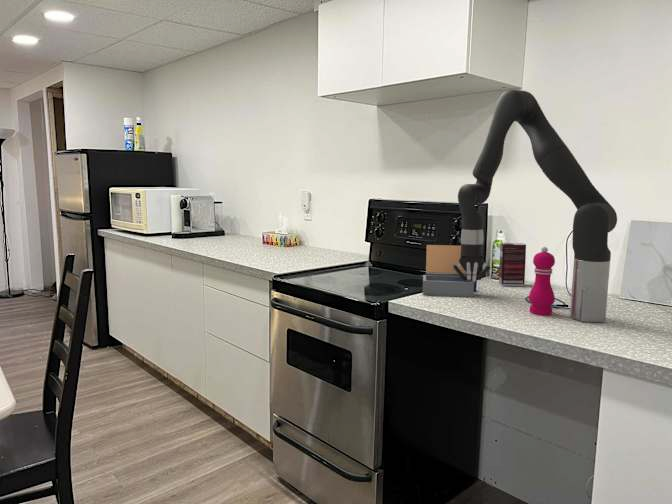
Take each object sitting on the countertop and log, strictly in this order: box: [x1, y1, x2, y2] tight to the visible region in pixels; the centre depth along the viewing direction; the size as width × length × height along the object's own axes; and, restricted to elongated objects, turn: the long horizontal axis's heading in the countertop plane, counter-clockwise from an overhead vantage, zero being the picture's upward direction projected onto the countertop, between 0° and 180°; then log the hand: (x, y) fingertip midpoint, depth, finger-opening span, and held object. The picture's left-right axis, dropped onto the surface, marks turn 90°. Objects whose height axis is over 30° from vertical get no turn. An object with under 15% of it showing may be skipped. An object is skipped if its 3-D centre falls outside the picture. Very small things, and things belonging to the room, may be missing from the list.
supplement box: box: [498, 242, 527, 287], centre depth 190 cm, size 9×5×16 cm, turn 84°
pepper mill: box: [528, 246, 556, 316], centre depth 150 cm, size 7×7×20 cm
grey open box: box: [422, 274, 475, 298], centre depth 178 cm, size 11×17×5 cm, turn 80°
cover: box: [425, 244, 472, 276], centre depth 184 cm, size 11×16×1 cm
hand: (470, 291), depth 176 cm, fingers closed
